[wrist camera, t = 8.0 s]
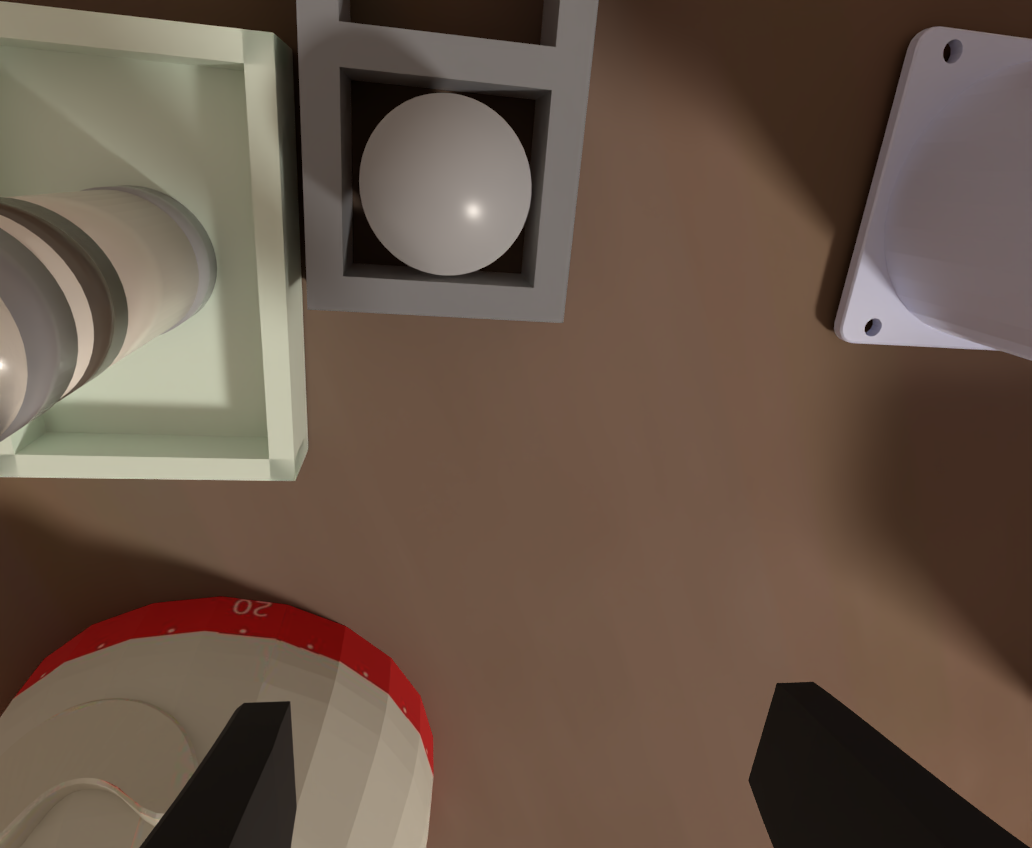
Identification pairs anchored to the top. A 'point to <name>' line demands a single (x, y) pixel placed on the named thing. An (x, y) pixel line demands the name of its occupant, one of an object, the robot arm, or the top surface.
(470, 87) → the grey compartment rack
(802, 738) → the robot arm
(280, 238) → the parts tray
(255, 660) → the kitchen timer
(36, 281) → the cylinder
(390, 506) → the top surface
